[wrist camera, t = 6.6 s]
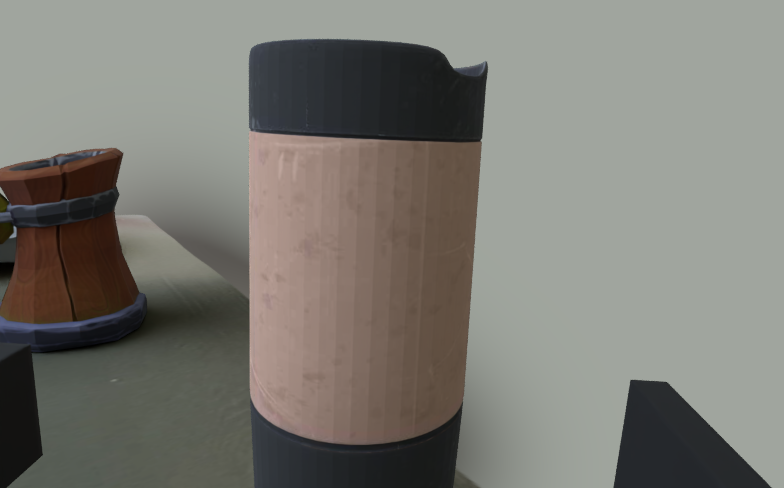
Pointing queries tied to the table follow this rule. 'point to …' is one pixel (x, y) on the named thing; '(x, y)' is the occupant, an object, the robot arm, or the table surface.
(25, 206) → the mug
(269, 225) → the travel mug
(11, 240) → the flat disc
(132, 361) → the table surface
